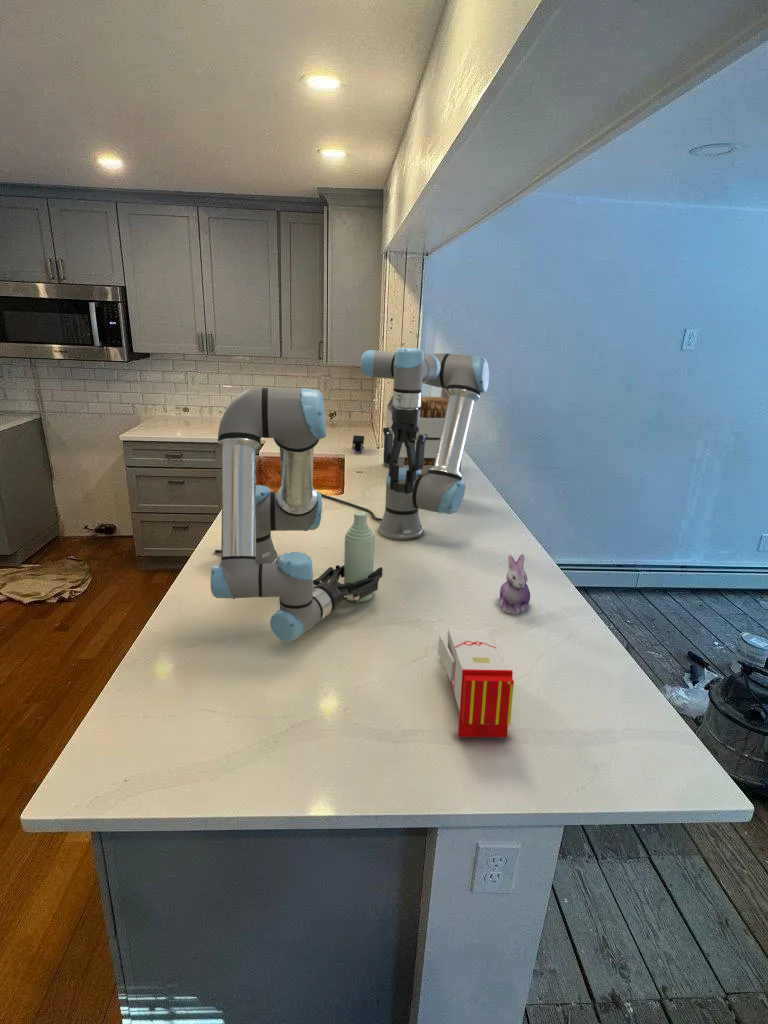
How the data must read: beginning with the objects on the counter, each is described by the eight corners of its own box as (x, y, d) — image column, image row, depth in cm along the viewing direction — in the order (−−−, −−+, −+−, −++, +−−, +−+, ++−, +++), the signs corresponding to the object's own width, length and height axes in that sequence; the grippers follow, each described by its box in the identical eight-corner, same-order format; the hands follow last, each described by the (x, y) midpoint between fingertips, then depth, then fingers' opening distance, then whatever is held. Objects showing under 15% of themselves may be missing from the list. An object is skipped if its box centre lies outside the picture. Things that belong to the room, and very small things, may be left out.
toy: (488, 613, 130) (523, 677, 101) (484, 667, 133) (517, 744, 104) (435, 612, 130) (455, 676, 101) (432, 666, 133) (451, 743, 103)
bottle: (377, 598, 155) (380, 516, 147) (350, 604, 151) (352, 520, 143) (365, 586, 161) (368, 506, 153) (339, 591, 158) (340, 510, 150)
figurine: (512, 619, 147) (519, 566, 142) (488, 601, 156) (494, 551, 151) (540, 611, 151) (548, 560, 146) (515, 594, 160) (522, 546, 155)
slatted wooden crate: (382, 463, 289) (386, 382, 275) (445, 464, 293) (451, 384, 279) (390, 482, 257) (394, 392, 243) (460, 483, 261) (468, 394, 247)
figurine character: (364, 456, 305) (364, 447, 319) (364, 443, 302) (364, 434, 315) (351, 456, 305) (352, 446, 318) (351, 443, 302) (352, 434, 315)
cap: (390, 488, 161) (391, 480, 160) (405, 487, 163) (406, 479, 162) (396, 493, 157) (397, 484, 156) (412, 492, 159) (412, 483, 158)
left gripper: (287, 603, 145) (336, 571, 164) (356, 626, 136) (399, 589, 155) (286, 576, 143) (336, 547, 162) (357, 599, 133) (401, 564, 152)
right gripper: (372, 404, 154) (369, 486, 162) (425, 413, 144) (419, 500, 152) (389, 402, 160) (385, 481, 168) (441, 410, 150) (434, 494, 158)
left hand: (367, 568), depth 158 cm, fingers closed on bottle, 8 cm apart
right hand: (401, 490), depth 160 cm, fingers closed on cap, 4 cm apart
